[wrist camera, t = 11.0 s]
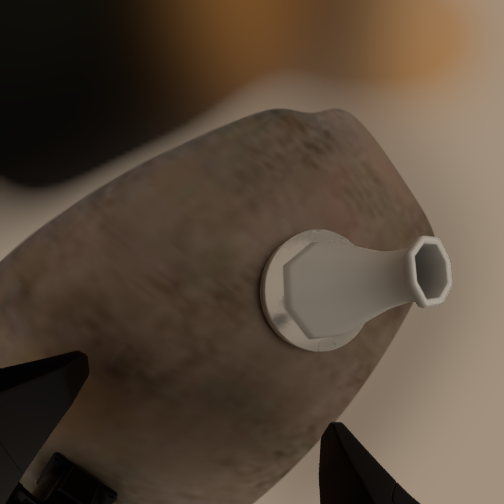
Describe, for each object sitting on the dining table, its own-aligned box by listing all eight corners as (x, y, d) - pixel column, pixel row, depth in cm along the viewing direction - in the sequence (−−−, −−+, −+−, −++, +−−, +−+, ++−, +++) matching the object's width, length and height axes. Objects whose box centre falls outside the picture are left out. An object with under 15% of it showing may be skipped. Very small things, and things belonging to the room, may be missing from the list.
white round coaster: (320, 367, 21) (335, 373, 18) (232, 304, 20) (239, 304, 18) (370, 280, 24) (387, 277, 21) (296, 216, 23) (309, 205, 20)
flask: (375, 315, 20) (481, 309, 11) (299, 356, 18) (401, 387, 9) (346, 230, 21) (442, 181, 11) (265, 257, 19) (347, 208, 9)
